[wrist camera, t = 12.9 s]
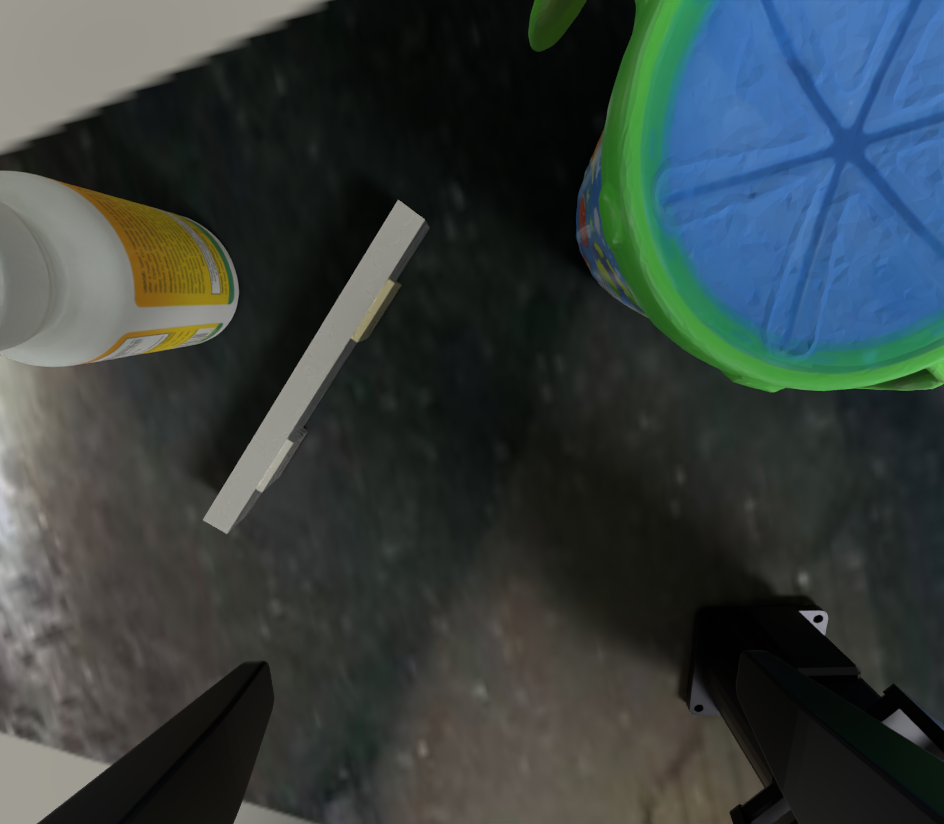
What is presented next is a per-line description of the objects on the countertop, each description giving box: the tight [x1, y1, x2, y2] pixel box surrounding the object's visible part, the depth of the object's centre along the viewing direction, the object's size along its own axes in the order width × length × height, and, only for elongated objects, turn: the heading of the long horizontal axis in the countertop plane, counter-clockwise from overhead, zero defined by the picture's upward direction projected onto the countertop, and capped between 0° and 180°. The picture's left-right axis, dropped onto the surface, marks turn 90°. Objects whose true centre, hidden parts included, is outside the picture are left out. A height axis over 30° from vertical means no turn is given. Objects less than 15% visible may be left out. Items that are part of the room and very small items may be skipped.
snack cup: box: [528, 0, 944, 392], centre depth 14 cm, size 16×10×10 cm
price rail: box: [203, 200, 430, 534], centre depth 19 cm, size 16×2×2 cm, turn 145°
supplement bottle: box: [0, 171, 239, 367], centre depth 15 cm, size 5×5×10 cm
